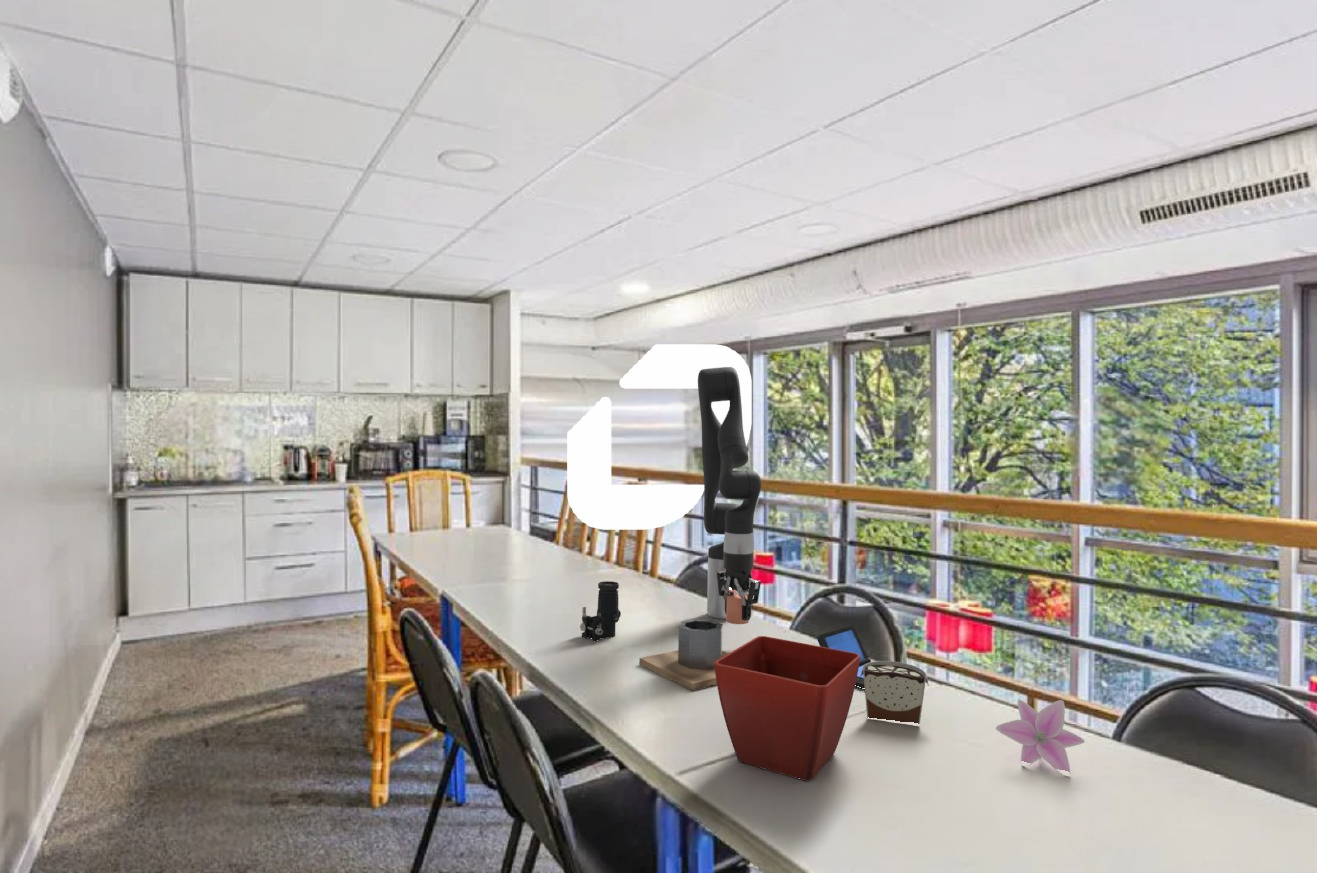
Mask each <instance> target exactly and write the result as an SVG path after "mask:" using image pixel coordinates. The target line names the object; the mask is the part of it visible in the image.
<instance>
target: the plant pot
mask: <svg viewBox="0 0 1317 873" xmlns="http://www.w3.org/2000/svg"><path fill="white" fill-rule="evenodd" d="M859 662H860V655H859V654H856V653H852V652H847V651H841V650H836V649H831V648H826V647H820V645H813V644H809V643H804V642H798V641H794V640H793V641H792V640H788V639H782V638H778V637H771V636H766V635H761V636H760V635H759V636H756V637H754V638H753V639H751V640H750V641H748V642H746V643H744V644H742V645H741V646H739V647H738V648H735V649H734V650H732V651H730V652H729V654H727V655H725V656H723V657H722V658H720V659H718V660H716V661H715V662H714V667H715V675H716V682H717V685H716V687H717V690H718V691H717V692H718V696H719V701H720V702H719V703H720V707H721V710H722V715H723V718H724V722H725V725H726V730H727V732H728V735H729V738H730V742H731V745H732V748H733V750H734V753H735V755H736V759H737V760H738V761H739V762H740V763H744V764H747V765H751V766H755V767H756V768H761V769H765V770H768V771H771V772H774V773H776V774H777V773H779V774H781V773H782V774H781V775H784V774H785V776H788V777H792V778H794V777H795V779H798V778H800V779H799V780H802V779H803V780H802V781H811V780H813V779H814V778H815V776H816V775H817V774H818V773H819V772H818V771H820V770H822V768H823V767H824V766H825V764H827V763H828V761H829V760H830V759H831V757H832V756H833V755H834V754H835V753H836V751H837V750H836V749H837V747H838V745H839V742H840V740H841V736H842V734H843V731H844V728H845V724H846V722H847V719H848V716H849V711H850V709H851V708H850V707H851V705H852V702H853V696H854V692H855V688H856V687H855V684H856V679H857V674H858V669H859ZM812 778H813V779H812ZM810 779H811V780H810Z"/></svg>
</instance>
